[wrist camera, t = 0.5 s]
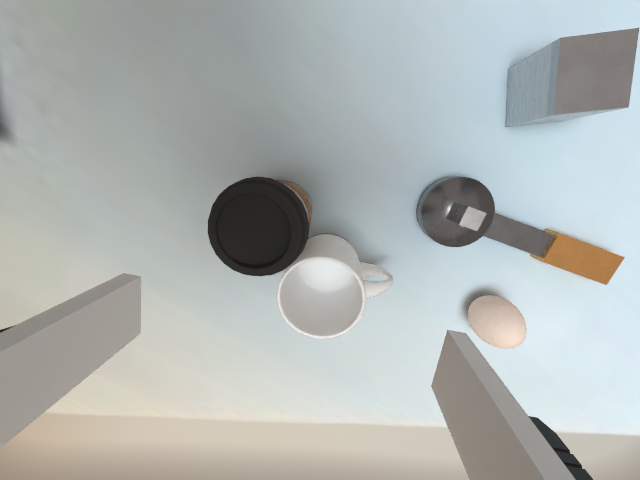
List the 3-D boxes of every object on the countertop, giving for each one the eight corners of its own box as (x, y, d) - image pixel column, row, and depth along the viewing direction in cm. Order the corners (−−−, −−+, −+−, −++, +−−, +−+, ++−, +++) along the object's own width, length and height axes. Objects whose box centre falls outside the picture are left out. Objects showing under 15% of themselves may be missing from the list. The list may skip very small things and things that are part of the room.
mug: (385, 294, 40) (400, 339, 29) (295, 295, 41) (280, 339, 30) (386, 230, 38) (403, 254, 27) (291, 233, 39) (273, 257, 28)
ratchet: (433, 166, 36) (453, 166, 29) (617, 235, 36) (675, 249, 30) (406, 228, 37) (419, 241, 31) (580, 292, 38) (627, 318, 32)
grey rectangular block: (508, 68, 33) (560, 37, 25) (567, 61, 32) (639, 28, 24) (505, 126, 34) (553, 115, 26) (561, 121, 33) (628, 107, 26)
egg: (508, 316, 39) (549, 352, 32) (467, 330, 40) (497, 369, 32) (495, 280, 38) (533, 308, 31) (453, 296, 39) (480, 327, 31)
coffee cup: (333, 207, 38) (328, 232, 23) (288, 252, 39) (257, 301, 25) (285, 158, 37) (247, 153, 22) (241, 207, 38) (180, 232, 24)
